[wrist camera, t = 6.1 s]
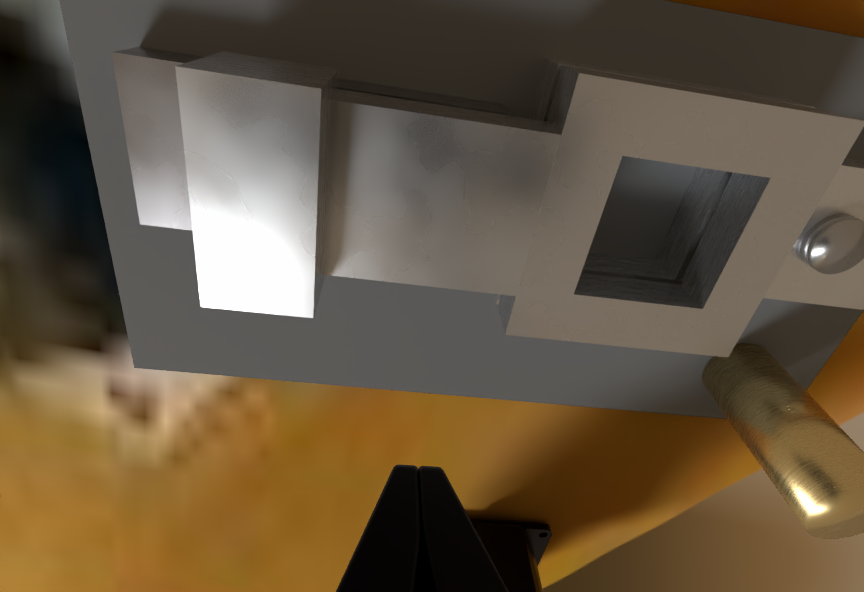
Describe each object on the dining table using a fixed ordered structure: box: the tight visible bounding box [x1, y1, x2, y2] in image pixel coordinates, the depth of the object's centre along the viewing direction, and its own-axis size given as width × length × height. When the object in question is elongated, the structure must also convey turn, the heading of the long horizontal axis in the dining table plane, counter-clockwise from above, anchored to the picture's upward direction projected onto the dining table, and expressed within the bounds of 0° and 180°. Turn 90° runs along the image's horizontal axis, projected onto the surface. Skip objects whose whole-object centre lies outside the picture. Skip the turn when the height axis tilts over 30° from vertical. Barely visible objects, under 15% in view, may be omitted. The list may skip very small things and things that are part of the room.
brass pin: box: [702, 344, 864, 539], centre depth 19 cm, size 3×3×7 cm
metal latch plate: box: [175, 51, 864, 357], centre depth 14 cm, size 8×17×3 cm, turn 81°
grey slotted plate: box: [112, 47, 864, 310], centre depth 16 cm, size 8×26×2 cm, turn 81°
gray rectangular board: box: [60, 0, 864, 419], centre depth 19 cm, size 16×30×1 cm, turn 81°
